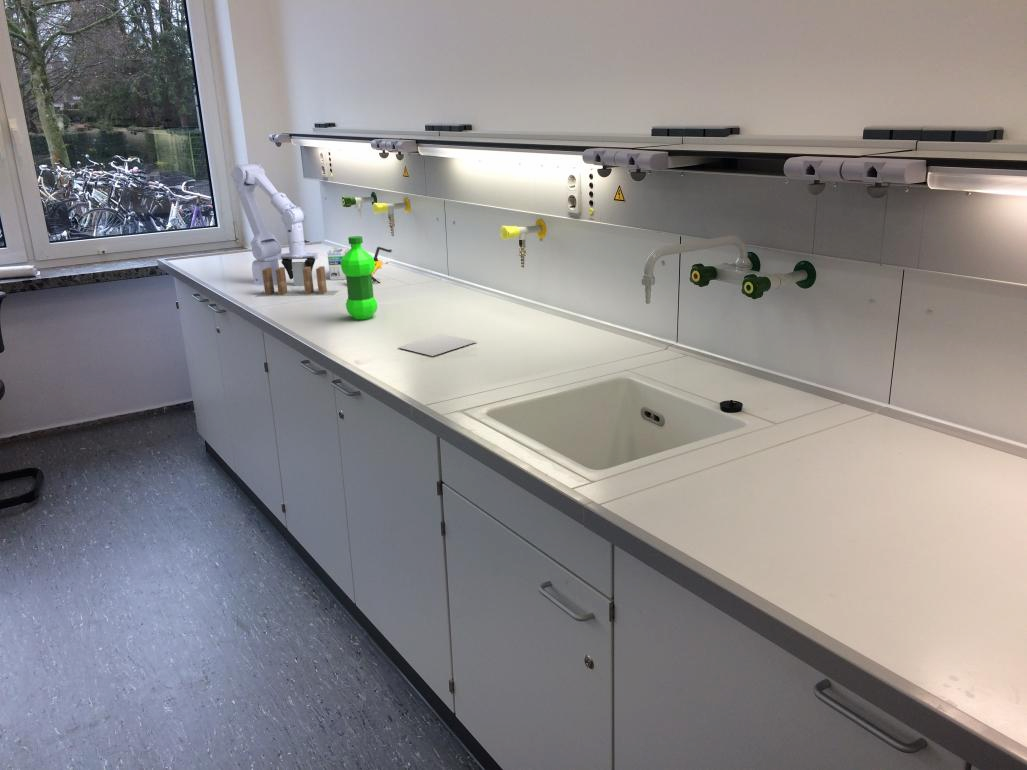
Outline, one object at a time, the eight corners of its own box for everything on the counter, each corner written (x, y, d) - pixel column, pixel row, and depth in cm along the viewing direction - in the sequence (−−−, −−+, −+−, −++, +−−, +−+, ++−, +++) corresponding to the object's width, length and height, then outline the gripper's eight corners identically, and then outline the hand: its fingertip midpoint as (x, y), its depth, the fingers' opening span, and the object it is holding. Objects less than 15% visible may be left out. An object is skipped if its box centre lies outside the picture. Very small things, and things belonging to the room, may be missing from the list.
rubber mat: (255, 297, 295) (255, 296, 295) (262, 292, 302) (262, 291, 302) (333, 296, 293) (333, 295, 293) (339, 291, 300) (339, 290, 300)
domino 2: (278, 295, 296) (275, 269, 293) (283, 292, 300) (280, 267, 298) (283, 295, 296) (279, 269, 293) (287, 292, 300) (284, 267, 297)
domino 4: (318, 294, 295) (315, 269, 292) (322, 291, 299) (319, 266, 296) (323, 294, 295) (320, 269, 292) (327, 291, 299) (324, 266, 296)
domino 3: (305, 294, 295) (302, 269, 292) (309, 291, 300) (306, 266, 297) (309, 294, 295) (306, 269, 292) (313, 291, 300) (311, 266, 297)
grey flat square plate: (502, 349, 225) (502, 347, 224) (434, 373, 207) (434, 370, 207) (442, 336, 239) (442, 333, 239) (373, 357, 222) (373, 354, 222)
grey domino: (307, 286, 310) (304, 262, 307) (294, 287, 311) (291, 262, 308) (308, 285, 312) (305, 261, 309) (295, 286, 312) (293, 262, 309)
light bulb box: (347, 279, 320) (344, 251, 317) (329, 280, 320) (326, 252, 317) (351, 274, 331) (348, 246, 327) (334, 275, 330) (331, 247, 327)
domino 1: (265, 295, 296) (262, 270, 293) (270, 292, 301) (266, 267, 298) (269, 295, 296) (266, 270, 293) (274, 292, 301) (271, 267, 298)
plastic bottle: (347, 323, 256) (339, 240, 248) (345, 315, 266) (337, 235, 258) (380, 319, 259) (373, 238, 251) (376, 312, 268) (369, 233, 260)
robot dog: (397, 282, 313) (394, 246, 309) (351, 288, 305) (347, 251, 300) (391, 279, 318) (388, 244, 313) (346, 286, 309) (342, 249, 305)
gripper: (273, 243, 303) (277, 281, 307) (312, 243, 302) (316, 280, 306) (279, 240, 309) (284, 277, 314) (318, 239, 308) (322, 276, 313)
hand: (300, 278), depth 310 cm, fingers open, 6 cm apart
